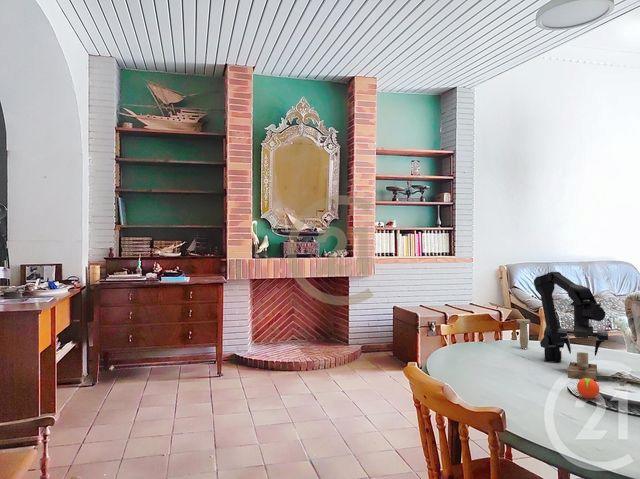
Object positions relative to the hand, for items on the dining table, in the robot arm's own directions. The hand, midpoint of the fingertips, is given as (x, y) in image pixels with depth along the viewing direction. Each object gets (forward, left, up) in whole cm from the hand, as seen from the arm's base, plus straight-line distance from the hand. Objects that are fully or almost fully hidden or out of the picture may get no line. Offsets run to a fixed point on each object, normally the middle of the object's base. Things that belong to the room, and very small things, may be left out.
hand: (582, 354), depth 197 cm
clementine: (+3, -35, -8) cm, 36 cm away
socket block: (0, -3, -8) cm, 8 cm away
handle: (-28, +36, -8) cm, 46 cm away
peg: (0, 0, -8) cm, 8 cm away
